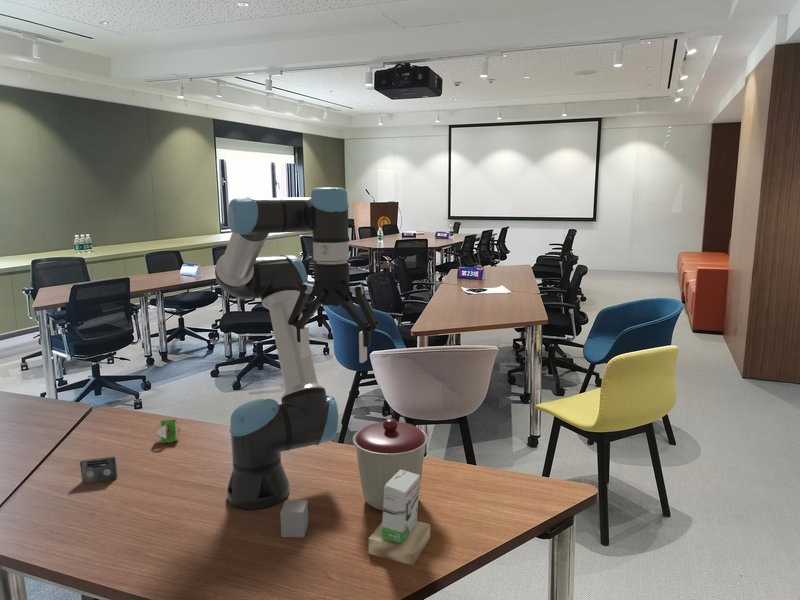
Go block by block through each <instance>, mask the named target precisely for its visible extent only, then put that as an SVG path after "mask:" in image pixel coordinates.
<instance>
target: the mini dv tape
mask: <svg viewBox="0 0 800 600" xmlns="http://www.w3.org/2000/svg"><path fill="white" fill-rule="evenodd" d="M79 466H80V473H81V474H80V475H81V480H82V481H81V483H82V484H85V483H94V482H95V483H97V482H103V481H111V480H113V481H114V480H118V475H119V474H118V463H117V457H116V456H109V457H98V458H92V459H91V458H90V459H82V460H80V462H79Z"/></svg>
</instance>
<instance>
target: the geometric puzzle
mask: <svg viewBox="0 0 800 600" xmlns="http://www.w3.org/2000/svg"><path fill="white" fill-rule="evenodd" d="M159 424H160V425H158V427H159V428H158V429H156V431H155V435H156V436H158V437H159V438H160V439H159V441H160V443H161V444H167V442H168V443H173V442H172V441H176V442H177V437H178V436H179V435H178V434H179V433H180V429H181V428H180V426H179V424H178V422H177V420H176V419H167V420H160V422H159ZM176 436H177V437H176Z"/></svg>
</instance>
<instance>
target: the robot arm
mask: <svg viewBox="0 0 800 600" xmlns="http://www.w3.org/2000/svg"><path fill="white" fill-rule="evenodd" d="M310 195H311V196H310V197H309V196H305V197H251V196H247V197H241V198H240V197H239V198H233V199H231V200H230V201H229V203H228V210H227V216H228V217H227V218H228V219H227V220H228V225H229V229H230V231H231V232H232V233H231V236H230V238H229V241H228V243H227V246H226V249H225V252H224V254H222V255H221V256H220V257H219V258H218V260H217V261H216V264H215V267H214V277H215V280H216V282H217V284H218V286H220V288H221V289H223V291H225V292H226V293H227V294H229V295H231V296H233V297H235V298H236V299H237V298H238V299H243V300H252V299H253V300H254V299H256V300H257V299H260V300H261V304H262V307H263V308H265V309H267V310H269V316H270V321H271V326H272V330H273V335H274V341H275V346H276V350H277V356H278V360H279V361H278V362H279V364H280V371H281V374H282V381H283V385H284V391H285V392H284V394H282V396H281V398H280V400H281V403H280V404H279V402H278V401H276V400H275V399H273V398H267V399H266V398H265V399H264V398H259V399H254V400H251V401H248V402H246V403H243V404H241V405H239V406H238V407H236V409H234V410H233V411H232V413H231V415H230V422H229V423H230V427H229V433H230V440H231V442H230V443H231V454H232V456H231V457H232V471H231V475H230V477H229V482H228V485H227V487H226V489H227V491H226V496H227V501H228V503H229V504H230V505H231V506H233V507H234V508H238V509H241V510H261V509H266V508H269V507H273V506H275V505H278V504H279V503H281V502H283V501H285V499H286V498H287V497H288V495H289V493H290V482H289V478H288V477H287V474H286V472H285V468H284V466H283V464H282V457H281V454H282V452H286V451H293V450H296V449H300V448H305V447H306V448H307V447H310V446H318V445H320V444H323V443H328V442H331V441H333V439H334V438H335V436H336V434H337V431H338V427H339V411H338V410H339V409H338V408H339V407H338V403H337V401H336V399H335V397H334V396H333V395H329V394H328V395H327V392H326V388H325V387H324V386H322V385H320V384H319V382H318V379H317V375H316V370H315V366H314V360H313V356H312V351H311V348H310V347H311V346H310V332H309V331H310V329H309V326H306V325H307V324H308V322H309V321H310V319H311V318H312V317H313V316H314V314H316V312H317V311H318V309H319V308H320V307H321V306H322V305H323V306H324V307H325V306H326V307H327V306H333V307H338V306H341V308H342V309H344V310H345V311H346V312H347V313H348V315H349V316H350V318H352V320H353V321H354V323H355V324H356V325H357V326H358V327H359V329H360V330H361V331H359V333H358V344H359V345H358V348H359V350H358V351H359V358H358V360H359V363H360V364H364V363H365V362H366V361H367V360H368V347H370V346H371V344H372V338H371V337H372V331H375V330H377V329H378V328H380V323H379V321H378V319H377V316H376V315H375V313H374V311H373V309H372V306H371V304H370V303H369V301H368V297H366V293H365V286H364V285H363V284H359V285H355V286H353V285H352V286H351V283H350V264H349V262H347V261H349V260H350V249H349V247H350V246H349V206H350V205H349V201H348V192H347V190H346V189H345V188H343V187H314V188H313V189H312V190H311V194H310ZM302 232H305V233H306V232H307V233H308V232H309V233H310V232H312V255H313V256H312V257H313V258H312V259H313V261H315V262H314V264H313V280H314V281H313V282H314V283H313V284H312V283H311V284H310V283H309V282H308V275H307V271H306V268H305V265H304V264H303V262H302V261H301V259H300V258H299V257H298V256H296V255H292V254H291V255H290V254H289V255H286V254H279V255H269V256H259V255H260V253H261V251H262V248H263V247H264V245H265V243H266V240H267V238H268V236H269V235H270V234H278V233H280V234H281V233H302ZM312 292H313V293H314V295H315V296H316V297H315V298H314V300H313V301H312V302H311V304H310V306H309V307H308V308H307V309H306V311H305V312H303V310H304V308H305V305H306V304H307V301H308V298H309V296H310V294H311V293H312ZM351 293H352V294H353V296H354V297H355V299H356V301H357V304H358V305H359V307H360V310H361V312H362V313H361V312H360V311H359V309H358V307H357V306H356V305H355V304H354V303H353V302H354V301H352V298H350V297H349V296H350V294H351Z"/></svg>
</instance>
